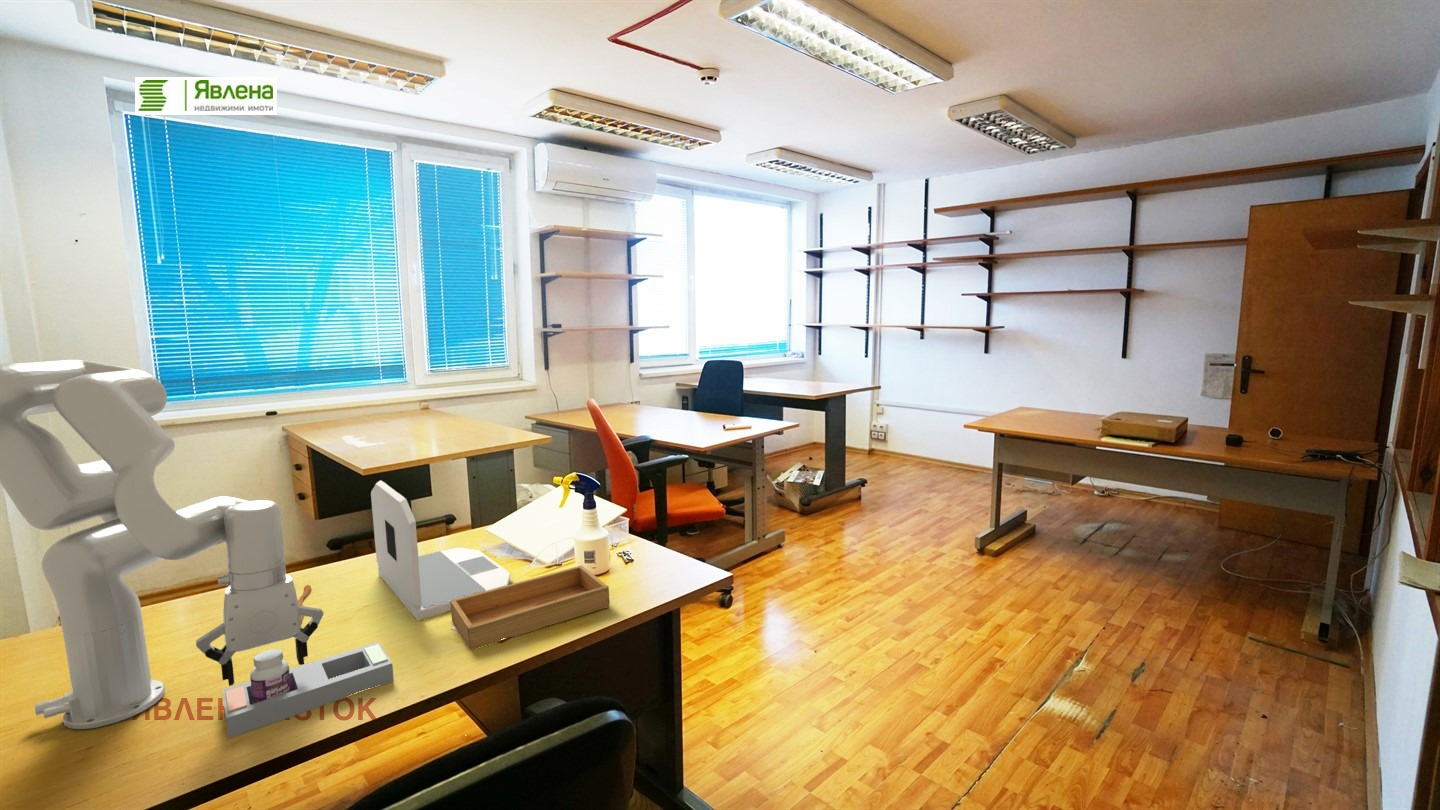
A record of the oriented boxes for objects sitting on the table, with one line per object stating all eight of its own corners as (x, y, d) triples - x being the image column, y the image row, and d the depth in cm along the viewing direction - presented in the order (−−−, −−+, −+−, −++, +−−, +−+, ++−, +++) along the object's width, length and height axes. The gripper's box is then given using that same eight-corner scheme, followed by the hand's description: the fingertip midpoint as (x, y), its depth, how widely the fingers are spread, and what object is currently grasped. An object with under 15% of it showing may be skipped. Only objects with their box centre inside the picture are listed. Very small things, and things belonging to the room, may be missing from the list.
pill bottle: (272, 719, 104) (266, 665, 103) (246, 714, 105) (239, 661, 104) (300, 699, 110) (294, 648, 108) (274, 696, 111) (269, 644, 109)
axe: (280, 594, 151) (280, 587, 151) (312, 590, 154) (312, 583, 154) (263, 637, 132) (263, 629, 132) (300, 631, 135) (300, 623, 134)
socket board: (228, 738, 100) (225, 716, 99) (224, 708, 107) (221, 688, 107) (393, 680, 115) (392, 661, 115) (380, 658, 123) (378, 640, 122)
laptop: (521, 590, 154) (516, 485, 150) (416, 622, 138) (407, 505, 134) (471, 551, 178) (465, 461, 175) (377, 575, 163) (368, 476, 159)
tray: (470, 652, 125) (468, 626, 125) (451, 622, 138) (449, 598, 137) (610, 610, 143) (609, 586, 142) (582, 586, 155) (581, 565, 155)
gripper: (190, 598, 96) (201, 701, 98) (323, 570, 107) (330, 663, 109) (189, 581, 101) (200, 680, 104) (315, 556, 113) (322, 645, 115)
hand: (266, 671), depth 107 cm, fingers open, 9 cm apart
